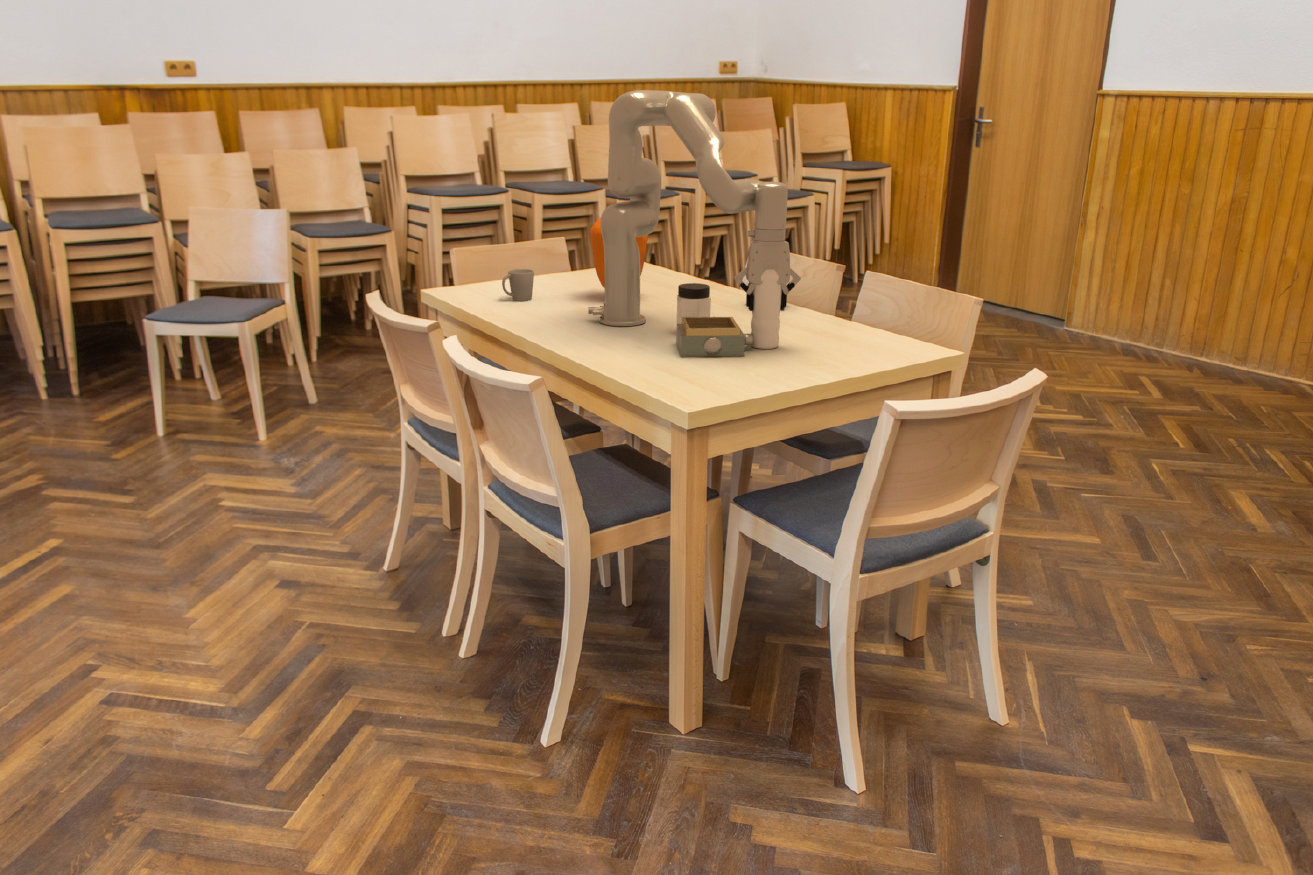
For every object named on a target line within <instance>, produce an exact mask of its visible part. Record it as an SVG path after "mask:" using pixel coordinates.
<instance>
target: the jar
mask: <svg viewBox="0 0 1313 875" xmlns="http://www.w3.org/2000/svg"><path fill="white" fill-rule="evenodd" d="M677 289H678V291H677V292H678V293H677V295H676V325H677V324H682V317H711V306H712V305H711V300H712V298H711V296H710V293H711V287H710V285H708V284H706V283H695V282H692V283H690V282H688V283H682V284H680V285H678V288H677Z"/></svg>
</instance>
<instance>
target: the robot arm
mask: <svg viewBox="0 0 1313 875" xmlns="http://www.w3.org/2000/svg"><path fill="white" fill-rule="evenodd" d="M716 112H717V111H716V106H715V104H714V101H713V100H712V99H711V98H710V97H709V96H707V95H706V94H704V93H699V92H698V93H695V92H691V93H690V92H684V91H683V92H682V91H674V90H673V91H672V90H671V91H670V90H653V89H650V90H649V89H638V90H637V89H636V90H631V91H627V92H624V93H623V94H621V95H619V96H618V97H617V98H616V99H615V100H614V102H612V104H611V107H610V109H609V115H608V131H609V132H608V134H609V135H608V136H609V144H608V165H607V186H608V189H609V191H610V193H611V194H612V195H614V196H616V197H617V198H618V197H619V198H629V200H627V201H619V202H614V203H612V204H610V205H608V206H607V207H605V209H604V210H603V212H602V213H601V216H600V217H601V220H600V225H601V232H602V236H603V243H604V264H605V288H604V303H603V305H599V306H587V307H588V310H587V311H588V314H589V315H593V316H598V315H599V321H598V322H600V323H601V324H602V325H606V326H611V327H633V326H638V325H642V324H644V323H646V320H647V318H646V316H645V315H643V314H641V276H640V252H639V248H638V245H637V243H636V240H635V237H640V236H645V235H648V236H649V235H650V234H652V233H653V232H654V231H655V230H656V228H657V227H658V223H659V220H660V208H661V194H662V192H661V191H662V174H661V172H660V169H659V167H658V165H657V163H656V162H654V161H653V160H652V159H649V158H646V157H643V139H642V136H641V131H640V130H639V128H640V127H641V128H642V127H657V126H658V127H660V126H663V127H671V128H672V130H673V131H674V133H675V134H676V136H677V137H678V138H679V140H680V141H681V142H682V144H683V145H684V146H685V148H686V150H688V152H689V154H691V156H692V157H693V159H694V162H695V169H696V174H697V177H698V178H697V179H698V181H699V184H700V185H701V188H702V189H703V191H704V192H705V194H706V195H707V197H708V198H709V199H710V201H711V202H712V203H713V204H714V206H715V207H716V208H717V209H718V210H719V211H721V212H723V213H725V214H729V215H730V214H731V215H733V214H737V213H738V214H739V213H746V212H752V211H753V212H754V218H753V219H754V220H753V222H754V223H753V228H752V230H747V237H749V238H752V239H753V240H751V241H750V242H749V243H750V244H749V248H748V253H747V262H746V267H744V268H743V269H742V270H741V271H739V272H738V273H737V274H736V275H735V276H734V277H733V279H734V280H735V282H737V283H736V284H738V285H739V287H740V288H741V289H742V290H743V291H744V292H745V293H746V298H745V301H746V302H745V305H746V307H747V308H748V311H749V312H752V310H753V300H754V295H753V292H752V291H753V290H754V288H755V286H756V285H760V284H762V283H763V282H762V281H761V276H762V274H763V272H765V270H769V269H772V270H775V272H777V274H778V276H779V279H778V281H777V284H778V285H781V288H782V291H781V309H780V312H784V311H785V308H786V307H787V300H788V295H789V292H791V291H792V290H793V289H794V288H795V287H796V285H798V283H799V282H800V281H801V279H802V277H801V276H800V275H799V274H798V273H797V272H795V271H794V270H793V268H791V252H790V244H789V242H788V241H786V232H787V231H786V229H787V214H788V213H787V212H788V195H789V194H788V190H789V189H788V186H787V184H786V183H783V182H780V181H763V180H759V179H758V180H757V179H753V178H744V179H742V178H741V179H733V178H732V177H731V176H730V175H729V173H728V172H727V171H726V169H725V168H724V165H723V164H722V162H721V160H720V159H721V158H720V152H721V151H722V149H723V148H724V145H725V138H724V136H723V135H722V134H721V131H719V129H718V128H717V127H716V125H715V124H714V122H715V118H716V115H717V114H716ZM744 277H746V280H747V282H748V283H747V284H746V283H745V282H744V281H743V279H744ZM791 278H792V280H791V281H790V279H791ZM784 307H785V308H784Z"/></svg>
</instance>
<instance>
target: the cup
mask: <svg viewBox="0 0 1313 875" xmlns="http://www.w3.org/2000/svg"><path fill="white" fill-rule="evenodd" d="M534 275H535V271H534V270H533V269H527V268H517V269H509V270H508V272H507V274H506V275H504V277H503V278H502V283H501V284H502V286H501V287H502V289H503V292H504V293H505V294H506V295H507V296H510V297H511V298H512V300H513V301H514V300H515V302H529V301H531V300H532V299H533V290H534V289H533V287H534V278H535V276H534ZM507 279H508V280H509V287H510V288H509V289H510V291H508V290H507V289H506V284H505V283H506V280H507ZM528 300H529V301H528Z"/></svg>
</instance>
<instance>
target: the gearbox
mask: <svg viewBox="0 0 1313 875" xmlns="http://www.w3.org/2000/svg"><path fill="white" fill-rule="evenodd" d="M675 334H676V337H675V338H676V342H675V344H676V347H677V350H678V353H679V355H680V357H681V358H697V357H698V358H701V357H702V358H707V357H709V358H710V357H711V358H715V357H717V358H718V357H719V358H721V357H722V358H723V357H729V358H730V357H732V358H733V357H734V358H735V357H745V346H751V345H753V343H754V336H753V334H751V333H744V332H743V330H742V329H741V327H740V326H739V325H738V323H737V321H736V320H735V319H734V317H733V316H710V317H682V324H677V323H676V333H675Z"/></svg>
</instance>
